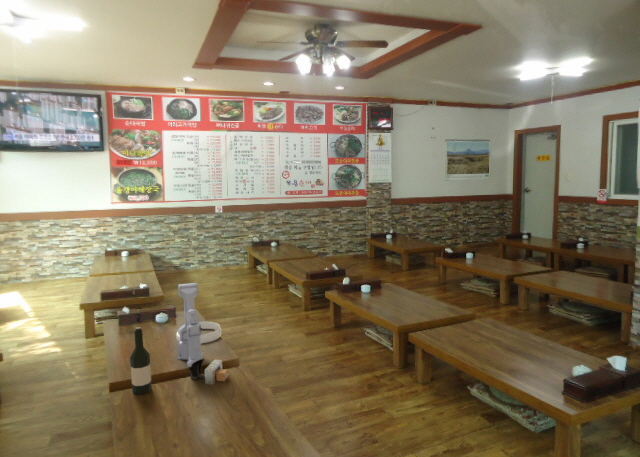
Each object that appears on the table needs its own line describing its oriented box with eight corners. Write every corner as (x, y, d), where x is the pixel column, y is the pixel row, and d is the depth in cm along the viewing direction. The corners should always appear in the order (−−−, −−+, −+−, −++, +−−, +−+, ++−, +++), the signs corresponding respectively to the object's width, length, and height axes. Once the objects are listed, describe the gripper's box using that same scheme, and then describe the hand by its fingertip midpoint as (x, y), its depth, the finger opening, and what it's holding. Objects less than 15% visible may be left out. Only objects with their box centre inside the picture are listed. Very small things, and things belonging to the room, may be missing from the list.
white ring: (202, 326, 298) (202, 318, 298) (230, 334, 283) (230, 325, 282) (167, 338, 277) (167, 330, 276) (196, 347, 261) (195, 338, 260)
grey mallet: (190, 379, 219) (189, 367, 219) (193, 375, 223) (193, 363, 223) (226, 381, 216) (226, 369, 216) (229, 377, 220) (229, 365, 220)
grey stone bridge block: (205, 384, 214) (204, 369, 213) (214, 373, 226) (214, 359, 225) (213, 384, 213) (212, 370, 213) (222, 373, 225) (221, 360, 224)
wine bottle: (155, 387, 211) (151, 325, 208) (143, 396, 203) (139, 331, 200) (141, 385, 214) (137, 324, 210) (128, 393, 206) (124, 329, 203)
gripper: (196, 354, 212) (197, 381, 213) (208, 343, 226) (210, 369, 227) (182, 353, 213) (183, 381, 214) (195, 342, 227) (196, 368, 228)
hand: (196, 374), depth 221 cm, fingers closed on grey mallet, 3 cm apart
